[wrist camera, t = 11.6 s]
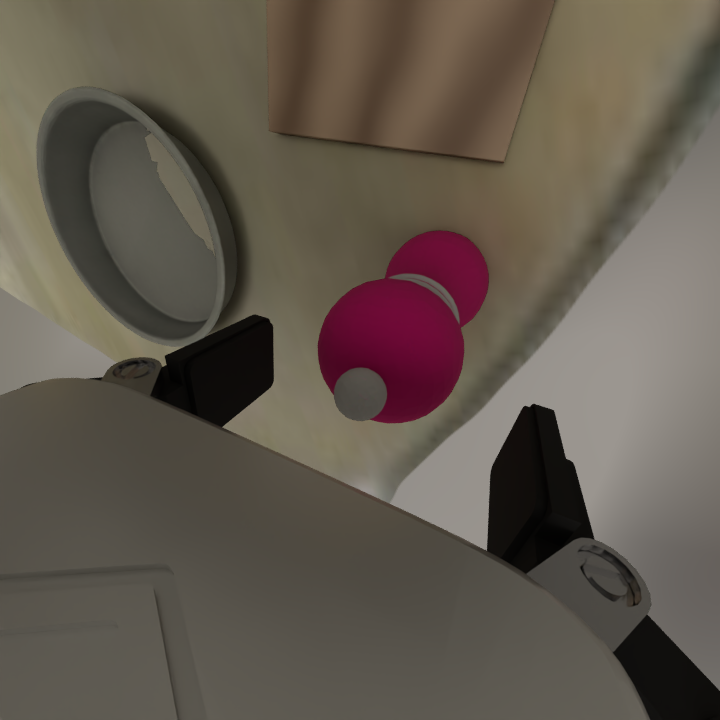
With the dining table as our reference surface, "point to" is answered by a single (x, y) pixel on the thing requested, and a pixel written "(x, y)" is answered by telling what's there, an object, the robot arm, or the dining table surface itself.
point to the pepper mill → (404, 331)
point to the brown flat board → (403, 71)
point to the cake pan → (133, 218)
